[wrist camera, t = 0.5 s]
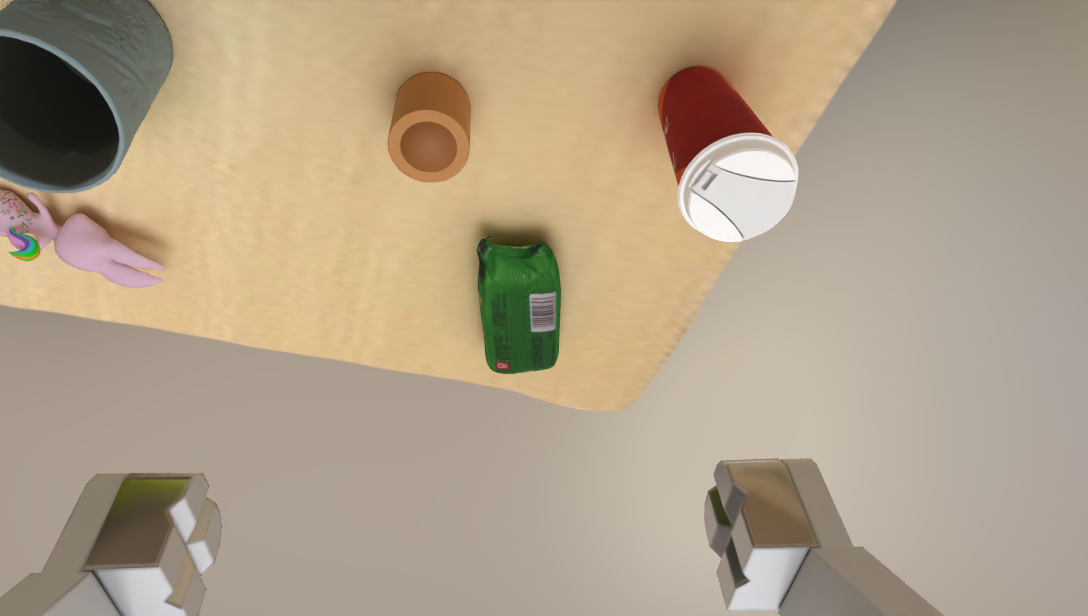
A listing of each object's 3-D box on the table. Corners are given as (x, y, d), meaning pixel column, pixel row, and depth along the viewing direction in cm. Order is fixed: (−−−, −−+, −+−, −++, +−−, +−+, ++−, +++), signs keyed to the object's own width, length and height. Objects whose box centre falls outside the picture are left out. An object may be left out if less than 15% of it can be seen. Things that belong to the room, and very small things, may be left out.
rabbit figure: (-14, 214, 60) (167, 289, 63) (-68, 253, 55) (130, 332, 58) (-12, 153, 56) (179, 236, 59) (-71, 189, 52) (141, 276, 55)
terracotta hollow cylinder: (392, 70, 53) (382, 114, 47) (470, 72, 53) (468, 115, 48) (398, 140, 56) (390, 188, 51) (471, 141, 57) (469, 188, 52)
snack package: (558, 218, 62) (562, 254, 58) (557, 349, 72) (560, 388, 68) (475, 221, 62) (474, 257, 58) (485, 352, 72) (485, 391, 68)
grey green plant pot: (130, -58, 46) (44, 6, 37) (215, 87, 53) (160, 172, 44) (-10, -15, 47) (-126, 58, 38) (90, 123, 54) (11, 212, 45)
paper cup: (625, 120, 57) (658, 222, 46) (682, 33, 52) (733, 122, 42) (704, 160, 59) (752, 265, 49) (765, 80, 55) (832, 175, 45)
